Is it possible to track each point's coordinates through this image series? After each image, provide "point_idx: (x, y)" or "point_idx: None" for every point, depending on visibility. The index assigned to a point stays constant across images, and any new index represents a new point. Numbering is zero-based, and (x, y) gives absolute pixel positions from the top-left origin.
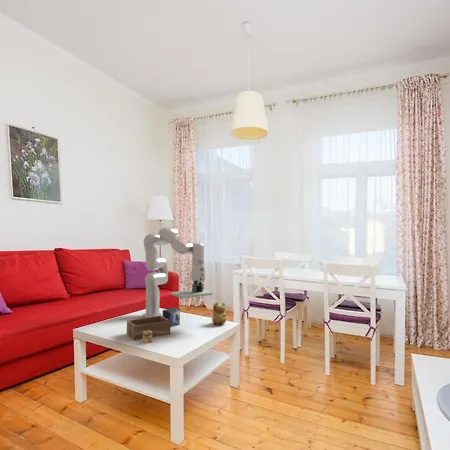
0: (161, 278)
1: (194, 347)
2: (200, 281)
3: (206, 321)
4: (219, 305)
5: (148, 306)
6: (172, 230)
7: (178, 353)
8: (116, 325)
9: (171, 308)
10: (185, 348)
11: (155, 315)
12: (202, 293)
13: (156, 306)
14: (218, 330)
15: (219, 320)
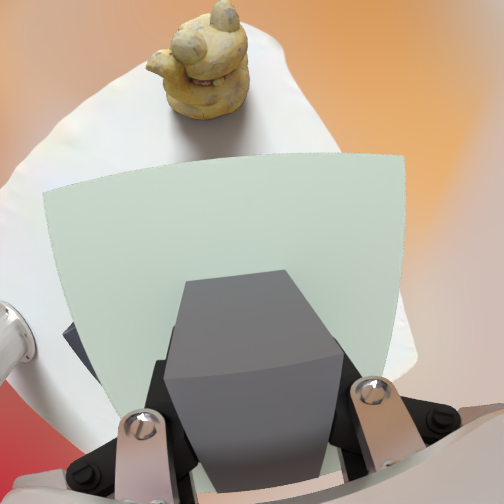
0: None
1: (403, 314)
2: (377, 466)
3: (130, 131)
4: (224, 48)
5: (7, 375)
6: None
7: (404, 358)
8: (101, 437)
9: (86, 357)
10: (393, 338)
11: (21, 334)
12: (384, 317)
13: (1, 350)
14: (304, 145)
15: (245, 95)
